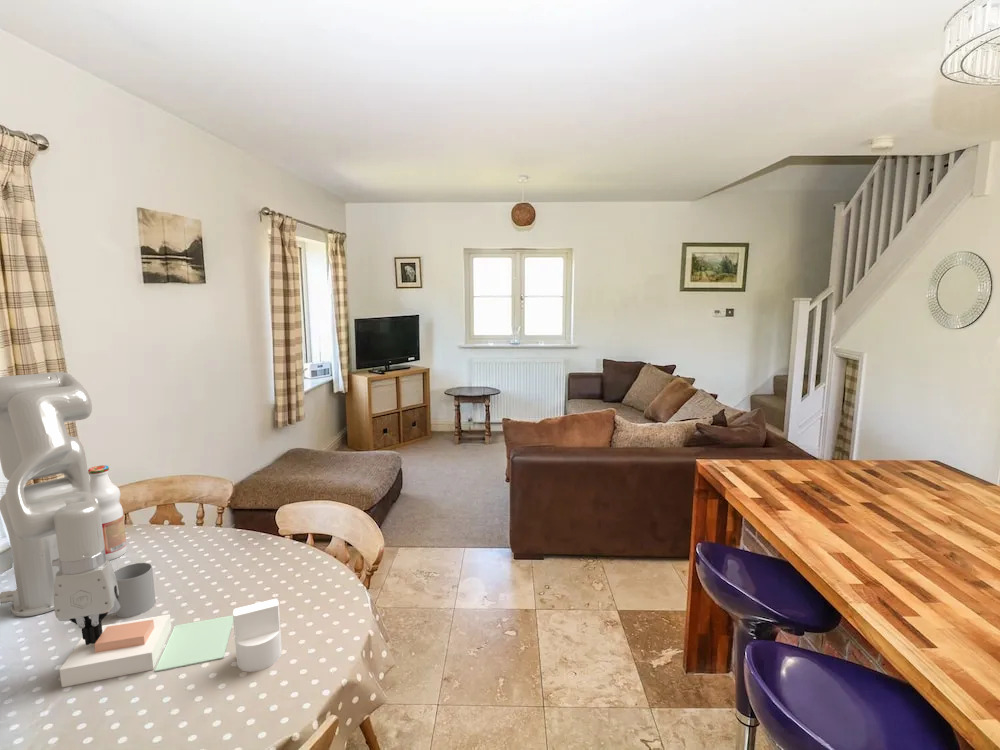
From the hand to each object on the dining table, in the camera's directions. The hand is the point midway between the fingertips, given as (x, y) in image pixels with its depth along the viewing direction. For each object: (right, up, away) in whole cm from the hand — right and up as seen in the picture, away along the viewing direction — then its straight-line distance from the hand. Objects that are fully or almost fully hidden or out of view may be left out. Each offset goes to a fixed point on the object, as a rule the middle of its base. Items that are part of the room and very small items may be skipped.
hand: (93, 640), depth 111 cm
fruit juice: (-32, +2, +46) cm, 57 cm away
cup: (-5, -2, +20) cm, 21 cm away
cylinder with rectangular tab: (+35, -5, +2) cm, 35 cm away
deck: (+4, -5, +2) cm, 7 cm away
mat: (+19, -4, +7) cm, 20 cm away
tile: (+6, -1, +2) cm, 6 cm away
